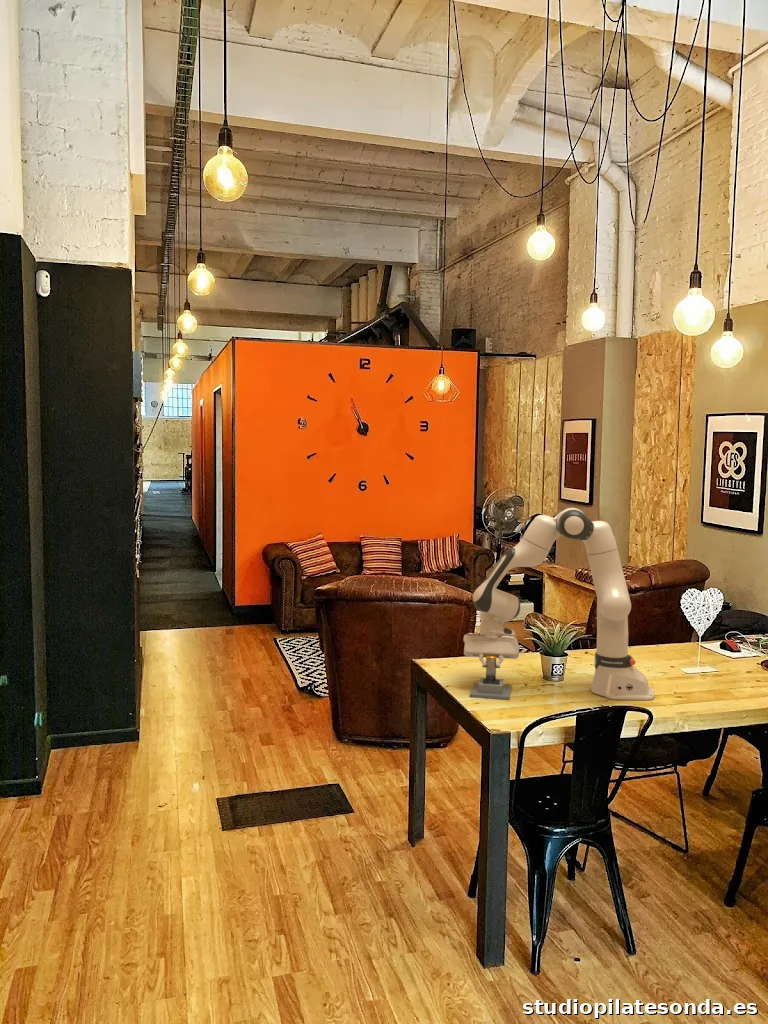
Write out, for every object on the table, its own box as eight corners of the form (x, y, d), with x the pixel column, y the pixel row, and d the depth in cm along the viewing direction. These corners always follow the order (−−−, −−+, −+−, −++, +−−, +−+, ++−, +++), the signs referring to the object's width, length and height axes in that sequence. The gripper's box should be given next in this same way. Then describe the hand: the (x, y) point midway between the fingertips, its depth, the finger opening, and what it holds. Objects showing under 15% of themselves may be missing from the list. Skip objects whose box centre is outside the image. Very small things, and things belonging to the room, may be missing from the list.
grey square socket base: (511, 687, 289) (511, 677, 288) (509, 700, 275) (509, 689, 275) (473, 685, 292) (473, 674, 291) (469, 697, 278) (470, 686, 278)
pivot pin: (496, 679, 284) (496, 655, 284) (495, 682, 281) (496, 657, 280) (486, 678, 285) (486, 654, 284) (485, 681, 282) (485, 657, 281)
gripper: (463, 628, 289) (462, 661, 281) (519, 630, 287) (519, 664, 278) (463, 637, 294) (462, 669, 285) (518, 639, 292) (518, 672, 283)
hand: (491, 667), depth 282 cm, fingers closed on pivot pin, 4 cm apart
